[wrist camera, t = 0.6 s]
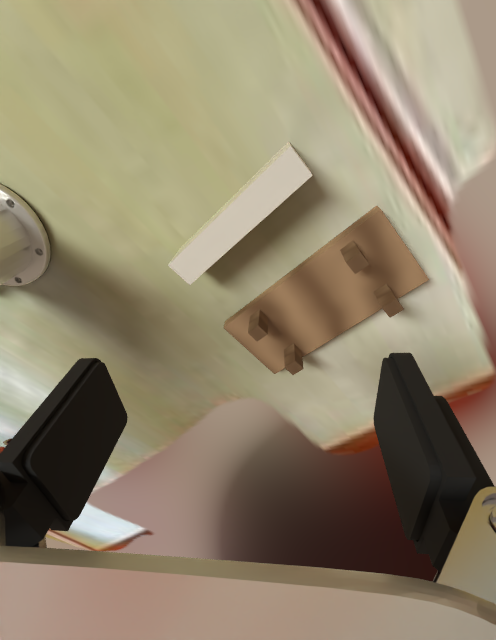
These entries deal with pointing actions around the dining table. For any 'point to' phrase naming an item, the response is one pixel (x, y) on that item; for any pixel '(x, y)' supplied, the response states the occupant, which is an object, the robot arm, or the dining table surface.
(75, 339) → the dining table surface
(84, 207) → the dining table surface
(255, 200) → the clay strip
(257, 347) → the plank with four pegs
